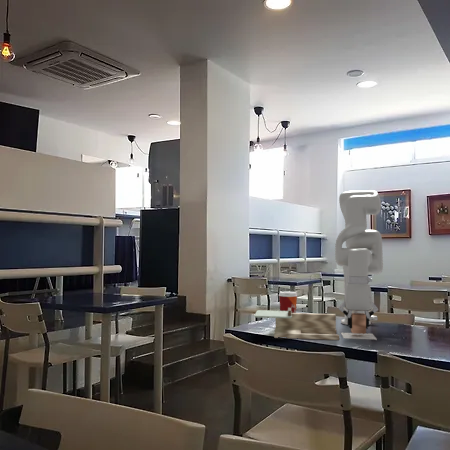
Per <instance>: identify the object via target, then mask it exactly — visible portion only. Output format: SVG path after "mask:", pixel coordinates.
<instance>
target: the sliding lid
mask: <svg viewBox="0 0 450 450" xmlns="http://www.w3.org/2000/svg"><path fill="white" fill-rule="evenodd" d="M254 318H259V319H260V318H261V319H262V318H264V319H268V318H269V319H275V318H291V308H288V311H280V310H270V309H269V310H268V309H265V310H263V309H258V310H256V312H255V314H254Z"/></svg>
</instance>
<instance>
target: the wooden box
mask: <svg viewBox="0 0 450 450" xmlns="http://www.w3.org/2000/svg"><path fill="white" fill-rule="evenodd" d="M336 318H337V315H336V313H312V312H311V313H309V312H308V313H307V312H305V313H304V312H296V313H291V318H274V319H275V323H274V324H275V327H274V334H273V337H274V338H275V339H279V338H278V337H287V338H286V339H297V338H298V339H301V340H329V341H331V340H332V341H333V340H334V341H339V340H340V334H337V333H338V332H337V323H336V322H337V319H336Z"/></svg>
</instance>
